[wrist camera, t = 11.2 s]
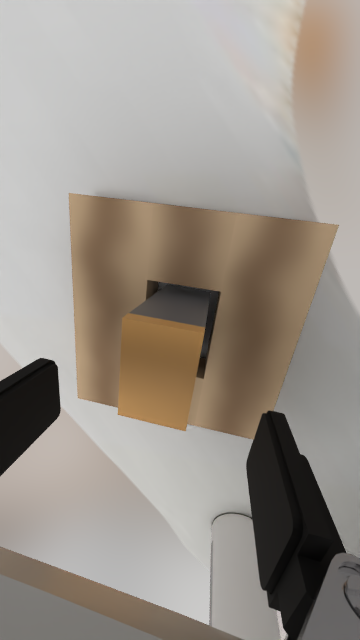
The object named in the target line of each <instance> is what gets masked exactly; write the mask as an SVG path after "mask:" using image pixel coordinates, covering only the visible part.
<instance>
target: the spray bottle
mask: <svg viewBox="0 0 360 640" xmlns="http://www.w3.org/2000/svg"><path fill="white" fill-rule="evenodd" d="M210 578H211V579H210V621H209V622H210V623H209V626H212V627H214V628H216V629H219V630H221V631H224V632H226V633H229V634H231V635H234V636H236V637H239V638H241V639H244V640H281V637H280V631H279V625H278V618H277V612H276V610H275V609H272V608H269V605H268V598H267V591H264V590H262V588H261V585H260V579H259V571H258V563H257V554H256V546H255V537H254V529H253V520H252V519H251V518H249V517H247V516H243V515H240V514H224V515H221V516H219V517H217V518H216V519H215V520H214V522H213V525H212V528H211V574H210Z"/></svg>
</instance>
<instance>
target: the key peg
mask: <svg viewBox="0 0 360 640" xmlns="http://www.w3.org/2000/svg"><path fill="white" fill-rule="evenodd" d="M210 293H211V292H210V291H204V290H198V289H192V288H186V287H180V286H174V285H166V286H165V287H163V288H162V289H161V290H159V291H158V292H157V293H155V294H154V295H153V296H151V297H150V298H148V299H147V300H146V301H144V302H143V303H142V304H140V305H139V306H138V307H136V308H135V309H133V310H132V311H131V312H129V313H128V314H127V315H125V316H124V317H123V318H122V334H121V356H120V378H119V400H118V415H121V416H125V417H129V418H134V419H138V420H142V421H146V422H150V423H154V424H158V425H162V426H166V427H170V428H174V429H178V430H182V431H186V427H187V421H188V416H189V411H190V406H191V401H192V395H193V390H194V385H195V380H196V374H197V369H198V364H199V359H200V354H201V348H202V343H203V338H204V333H205V326H206V319H207V313H208V306H209V300H210Z"/></svg>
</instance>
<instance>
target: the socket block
mask: <svg viewBox="0 0 360 640" xmlns="http://www.w3.org/2000/svg"><path fill="white" fill-rule="evenodd" d="M69 209H70V232H71V255H72V277H73V300H74V323H75V345H76V368H77V391H78V398H80V399H84V400H88V401H93V402H97V403H101V404H105V405H109V406H114V407H118V400H119V378H120V356H121V334H122V318H123V317H124V316H125V315H127V314H128V313H129V312H131V311H132V310H133V309H135V308H136V307H138V306H139V305H140V304H142V303H143V302H144V301H146V300H147V299H148V298H150V297H151V296H153V295H154V294H155V293H157V292H158V282H164V283H170V284H176V285H183V286H189V287H195V288H201V289H207V290H214V291H219V294H218V299H217V304H216V310H215V315H214V320H213V325H212V330H211V335H210V340H209V345H208V350H207V356H206V359H204V358H200V359H199V364H198V369H197V374H196V380H195V385H194V390H193V395H192V401H191V406H190V411H189V416H188V421H187V424H190V425H194V426H198V427H203V428H207V429H211V430H215V431H220V432H224V433H228V434H232V435H236V436H241V437H245V438H249V439H253V440H254V437H255V434H256V431H257V428H258V425H259V422H260V419H261V416H262V414H263V413H267V412H268V411H269V410H270V411H273V410H274V407H275V404H276V401H277V399H278V396H279V393H280V390H281V387H282V384H283V382H284V379H285V376H286V373H287V370H288V367H289V365H290V362H291V359H292V356H293V353H294V351H295V348H296V345H297V342H298V339H299V336H300V334H301V331H302V328H303V325H304V322H305V319H306V317H307V314H308V311H309V308H310V305H311V303H312V300H313V297H314V294H315V291H316V288H317V286H318V283H319V280H320V277H321V274H322V272H323V269H324V266H325V263H326V260H327V257H328V255H329V252H330V249H331V246H332V243H333V240H334V238H335V234H336V232H337V229H338V226H339V225H334V224H326V223H318V222H309V221H301V220H292V219H284V218H275V217H267V216H258V215H250V214H241V213H233V212H224V211H216V210H208V209H199V208H191V207H182V206H174V205H165V204H157V203H148V202H140V201H131V200H123V199H114V198H106V197H98V196H89V195H81V194H72V193H69Z"/></svg>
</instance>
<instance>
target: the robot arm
mask: <svg viewBox="0 0 360 640" xmlns="http://www.w3.org/2000/svg"><path fill="white" fill-rule="evenodd" d="M59 414H60V395H59V380H58V367H57V365H56V364H55V362H54V361H53V360H48V359H44V358H40V359H37V360H36V361H34V362H32V363H31V364H29V365H27V366H25V367H24V368H22V369H20V370H19V371H17V372H15V373H14V374H12V375H10V376H8V377H7V378H5V379H3V380H2V381H0V476H1V475H2V474H3V473H4V472H5V471H6V470H7V469H8V468H9V467H10V466H11V465H12V464H13V463H14V462H15V461H16V460H17V459H18V457H20V456H21V455H22V454H23V453H24V452H25V451H26V450H27V448H29V446H30V445H31V444H32V443H33V442H34V441H35V440H36V439H37V438H38V437H39V436H40V435H41V434H42V433H43V432H44V431H45V430H46V429H47V428H48V427H49V426H50V425H51V424H52V423H53V422H54V421H55V420H56V419H57V418H58V416H59ZM246 469H247V478H248V486H249V495H250V503H251V512H252V520H253V529H254V537H255V546H256V554H257V563H258V571H259V579H260V585H261V588H262V590H264V591H267V598H268V605H269V608H272V609H275V610H278V611H281V617H282V623H283V628H284V630H285V631H286V633H287V634H286V637H285V639H284V640H360V558H358V557H356V556H354V555H352V554H347V553H346V551H345V548H344V546H343V544H342V541H341V539H340V536H339V534H338V532H337V529H336V527H335V524H334V522H333V520H332V517H331V515H330V512H329V510H328V508H327V505H326V503H325V500H324V498H323V496H322V493H321V491H320V488H319V486H318V484H317V481H316V479H315V476H314V474H313V472H312V469H311V467H310V465H309V462H308V460H307V458H306V457H305V456H304V455H301V454H300V453H299V450H298V448H297V445H296V443H295V440H294V438H293V435H292V432H291V430H290V427H289V425H288V422H287V420H286V417H285V415H284V414H283V413H279V412H274V411H270V410H269V411H268V412H267V413H263V414H262V416H261V419H260V422H259V425H258V428H257V431H256V434H255V437H254V440H253V443H252V446H251V449H250V452H249V456H248V459H247V465H246ZM0 640H244V639H241V638H239V637H236V636H234V635H231V634H229V633H226V632H224V631H221V630H219V629H216V628H214V627H212V626H209V625H206V624H204V623H202V622H199V621H197V620H194V619H192V618H189V617H187V616H184V615H182V614H179V613H177V612H174V611H171V610H169V609H166V608H163V607H161V606H158V605H155V604H153V603H150V602H147V601H145V600H142V599H139V598H137V597H134V596H132V595H129V594H126V593H124V592H121V591H118V590H116V589H113V588H110V587H107V586H105V585H102V584H100V583H97V582H94V581H92V580H89V579H86V578H84V577H81V576H78V575H76V574H73V573H70V572H68V571H64V570H62V569H59V568H57V567H54V566H51V565H49V564H46V563H43V562H40V561H38V560H35V559H32V558H29V557H27V556H24V555H22V554H19V553H16V552H13V551H11V550H8V549H5V548H3V547H0Z"/></svg>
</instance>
